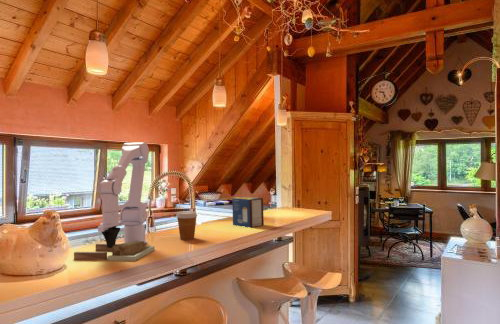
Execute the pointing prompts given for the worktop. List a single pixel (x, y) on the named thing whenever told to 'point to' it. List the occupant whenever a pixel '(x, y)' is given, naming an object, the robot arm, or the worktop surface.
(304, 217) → the worktop surface
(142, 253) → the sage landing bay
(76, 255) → the walnut chute
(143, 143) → the robot arm
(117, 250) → the stone block
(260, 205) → the protein box
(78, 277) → the worktop surface
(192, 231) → the disposable coffee cup
